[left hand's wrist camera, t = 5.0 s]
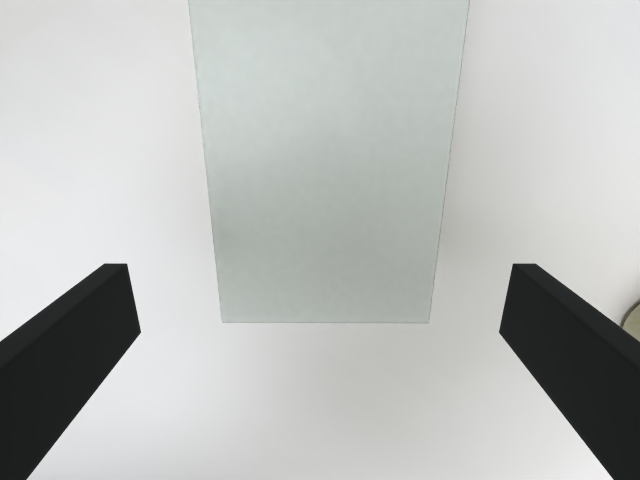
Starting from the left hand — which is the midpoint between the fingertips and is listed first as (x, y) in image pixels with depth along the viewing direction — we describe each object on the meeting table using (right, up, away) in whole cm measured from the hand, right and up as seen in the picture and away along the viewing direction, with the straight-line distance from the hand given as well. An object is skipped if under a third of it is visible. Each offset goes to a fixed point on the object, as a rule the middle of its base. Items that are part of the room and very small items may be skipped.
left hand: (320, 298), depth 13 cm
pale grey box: (0, +10, +11) cm, 15 cm away
